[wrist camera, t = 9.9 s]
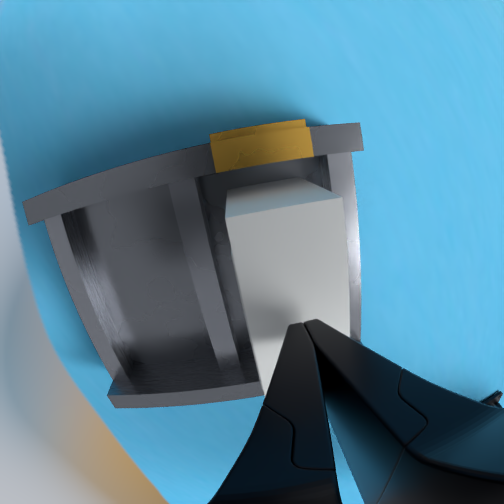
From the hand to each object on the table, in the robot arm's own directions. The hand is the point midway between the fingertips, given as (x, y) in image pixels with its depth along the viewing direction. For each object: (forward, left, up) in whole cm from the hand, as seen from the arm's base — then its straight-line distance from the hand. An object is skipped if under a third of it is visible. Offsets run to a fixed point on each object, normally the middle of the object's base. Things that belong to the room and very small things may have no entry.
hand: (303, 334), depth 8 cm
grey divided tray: (+3, 0, -6) cm, 7 cm away
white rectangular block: (0, 0, -5) cm, 5 cm away
